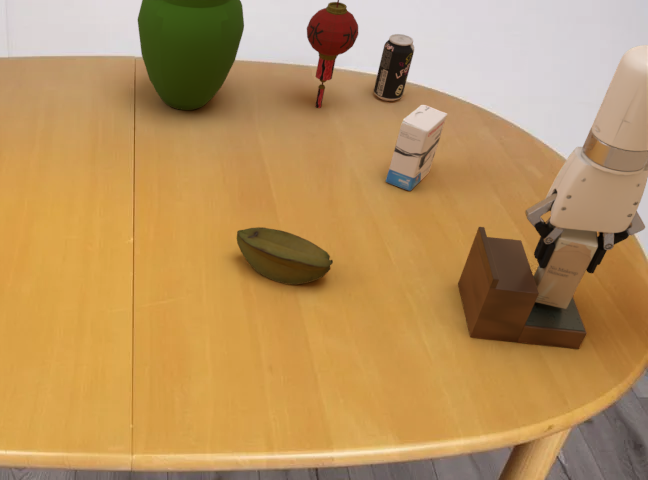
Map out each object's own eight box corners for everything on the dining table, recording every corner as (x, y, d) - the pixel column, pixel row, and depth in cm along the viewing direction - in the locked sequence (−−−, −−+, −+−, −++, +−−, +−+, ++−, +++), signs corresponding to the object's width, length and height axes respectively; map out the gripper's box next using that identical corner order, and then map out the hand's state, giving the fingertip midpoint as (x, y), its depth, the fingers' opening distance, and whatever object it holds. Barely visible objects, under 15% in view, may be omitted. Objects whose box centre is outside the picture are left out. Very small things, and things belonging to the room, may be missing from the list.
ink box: (410, 192, 149) (428, 131, 141) (384, 182, 152) (400, 121, 144) (430, 172, 155) (449, 112, 147) (405, 162, 157) (421, 102, 149)
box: (529, 301, 123) (557, 237, 115) (529, 283, 126) (556, 220, 118) (568, 310, 122) (599, 246, 114) (567, 291, 125) (597, 228, 117)
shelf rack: (559, 294, 131) (586, 237, 124) (578, 349, 122) (609, 290, 115) (457, 283, 132) (478, 226, 124) (470, 337, 123) (493, 278, 116)
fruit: (266, 302, 127) (272, 266, 122) (230, 254, 135) (235, 218, 130) (334, 285, 130) (343, 250, 126) (295, 239, 138) (302, 204, 134)
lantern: (319, 90, 176) (348, -65, 155) (352, 110, 170) (387, -48, 150) (284, 102, 172) (309, -57, 151) (316, 123, 166) (347, -39, 146)
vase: (132, 123, 163) (136, -8, 146) (136, 75, 177) (141, -49, 161) (236, 129, 163) (252, -1, 146) (232, 80, 177) (247, -43, 161)
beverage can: (402, 92, 177) (417, 35, 168) (400, 105, 173) (415, 47, 164) (374, 87, 178) (388, 30, 170) (371, 100, 174) (384, 42, 166)
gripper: (678, 140, 110) (620, 254, 122) (539, 127, 111) (495, 242, 123) (699, 172, 104) (635, 288, 117) (552, 158, 105) (505, 275, 118)
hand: (564, 263), depth 120 cm, fingers closed on box, 5 cm apart
